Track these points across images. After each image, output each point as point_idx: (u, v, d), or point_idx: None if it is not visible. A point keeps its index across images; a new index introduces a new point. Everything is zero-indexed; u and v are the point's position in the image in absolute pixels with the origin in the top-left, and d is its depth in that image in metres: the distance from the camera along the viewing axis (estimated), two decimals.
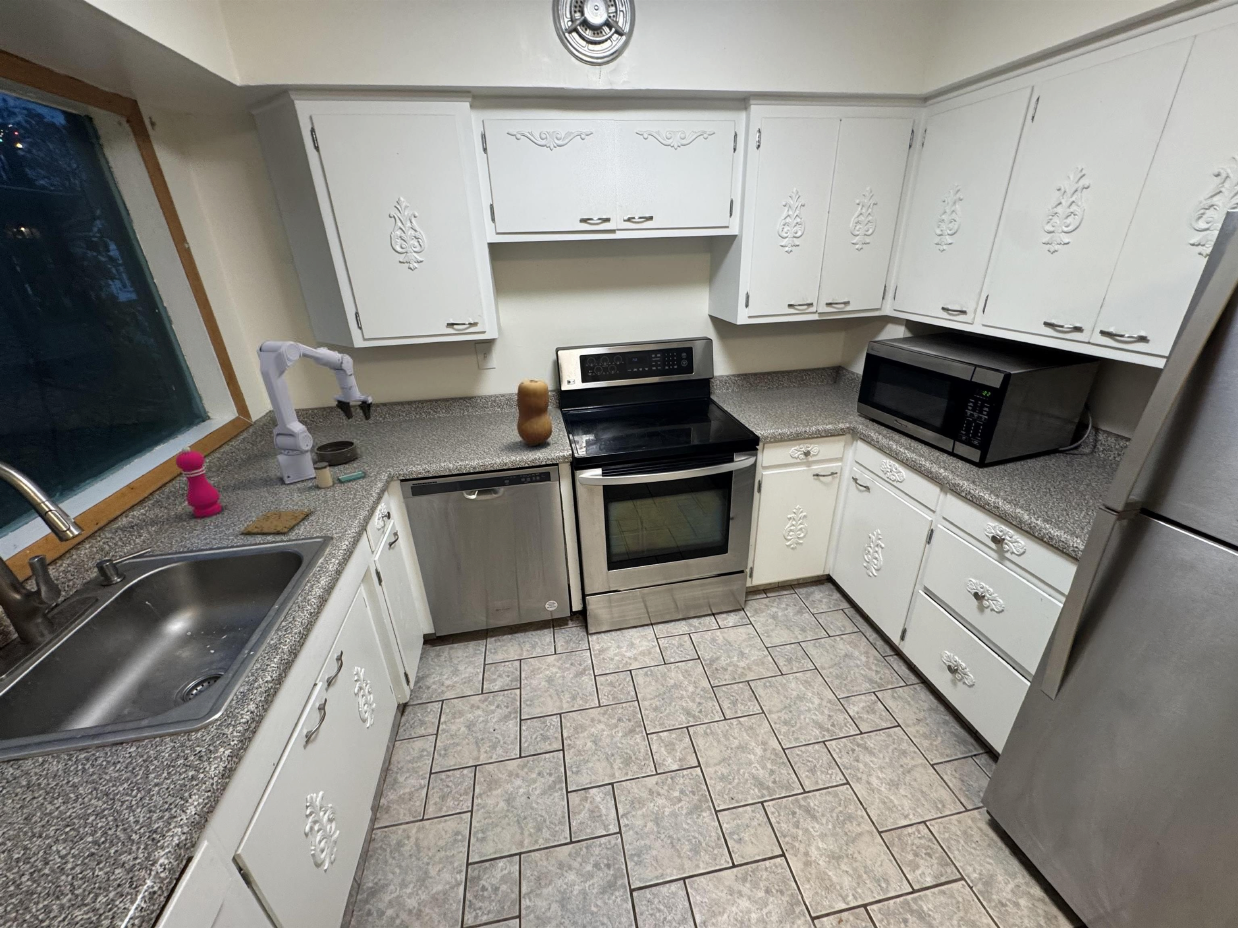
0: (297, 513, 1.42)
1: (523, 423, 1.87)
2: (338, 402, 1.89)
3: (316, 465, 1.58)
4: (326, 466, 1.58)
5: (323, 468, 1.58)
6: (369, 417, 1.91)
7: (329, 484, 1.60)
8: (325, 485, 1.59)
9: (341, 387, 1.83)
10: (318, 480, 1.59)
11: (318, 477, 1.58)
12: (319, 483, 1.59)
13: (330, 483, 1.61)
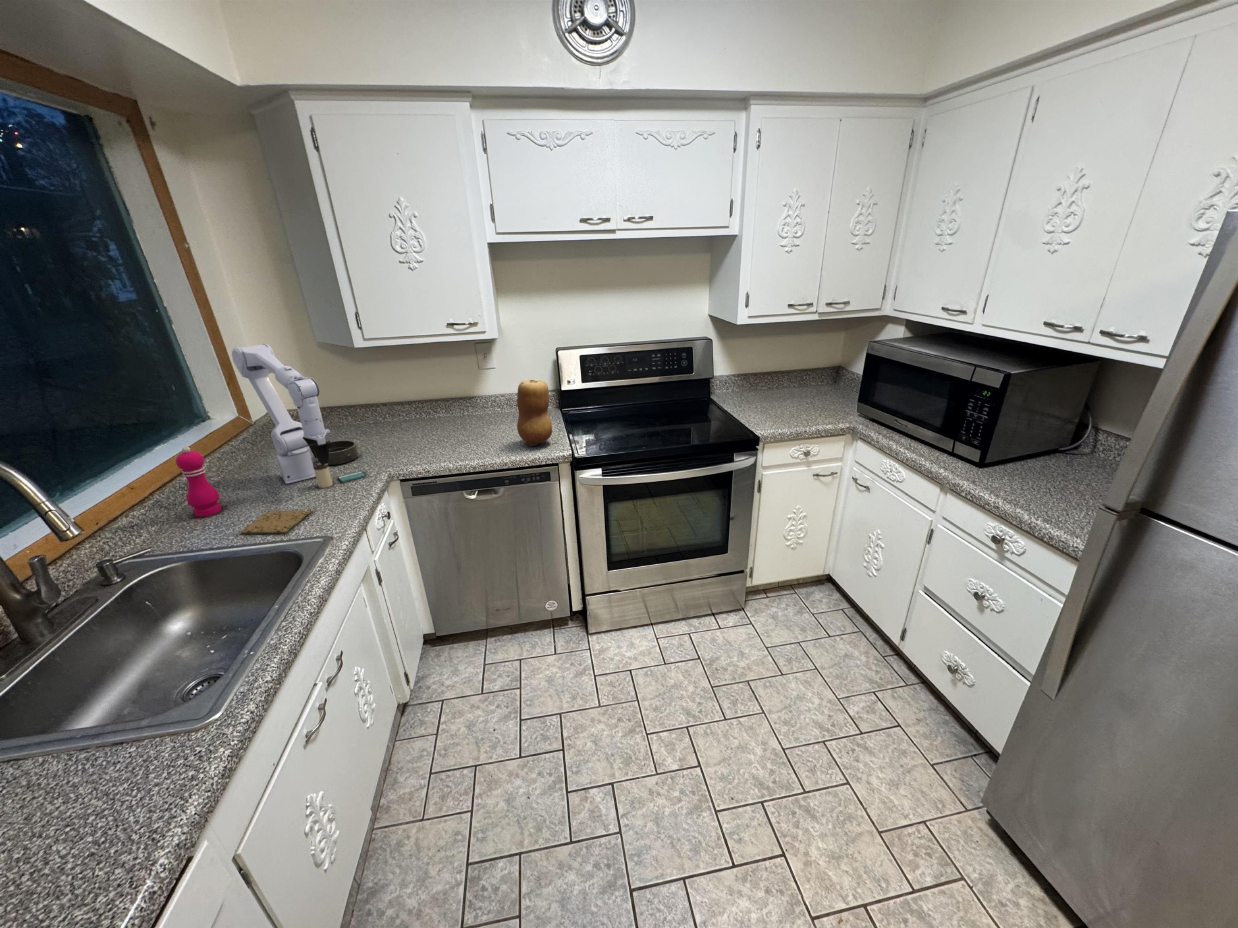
0: (297, 513, 1.42)
1: (523, 423, 1.87)
2: None
3: (316, 465, 1.58)
4: (326, 466, 1.58)
5: (323, 468, 1.58)
6: (325, 461, 1.55)
7: (329, 484, 1.60)
8: (325, 485, 1.59)
9: None
10: (318, 480, 1.59)
11: (318, 477, 1.58)
12: (319, 483, 1.59)
13: (330, 483, 1.61)
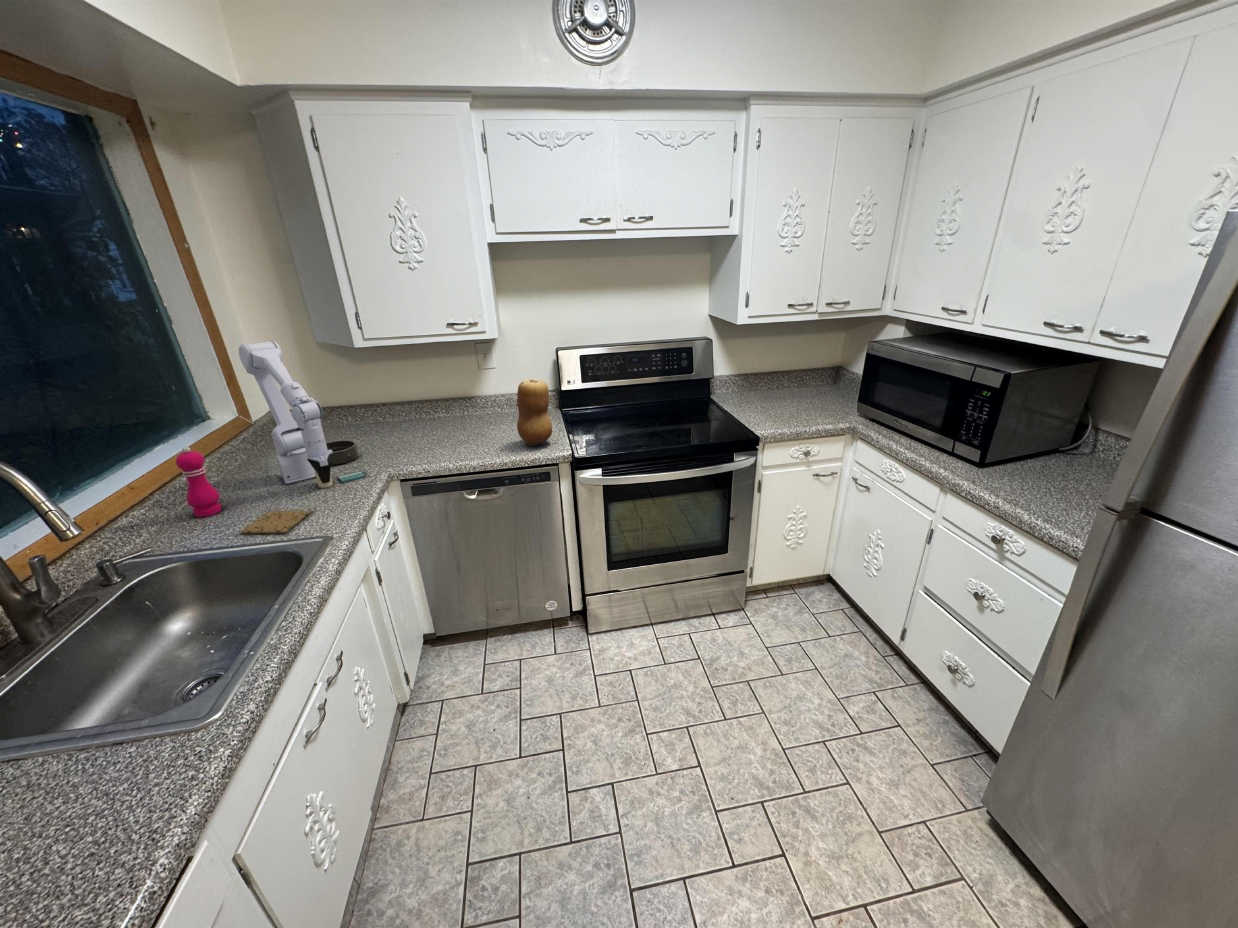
0: (297, 513, 1.42)
1: (523, 423, 1.87)
2: None
3: None
4: None
5: None
6: (327, 480, 1.59)
7: (329, 484, 1.60)
8: (325, 485, 1.59)
9: None
10: (318, 480, 1.59)
11: (318, 477, 1.58)
12: (319, 483, 1.59)
13: (330, 483, 1.61)
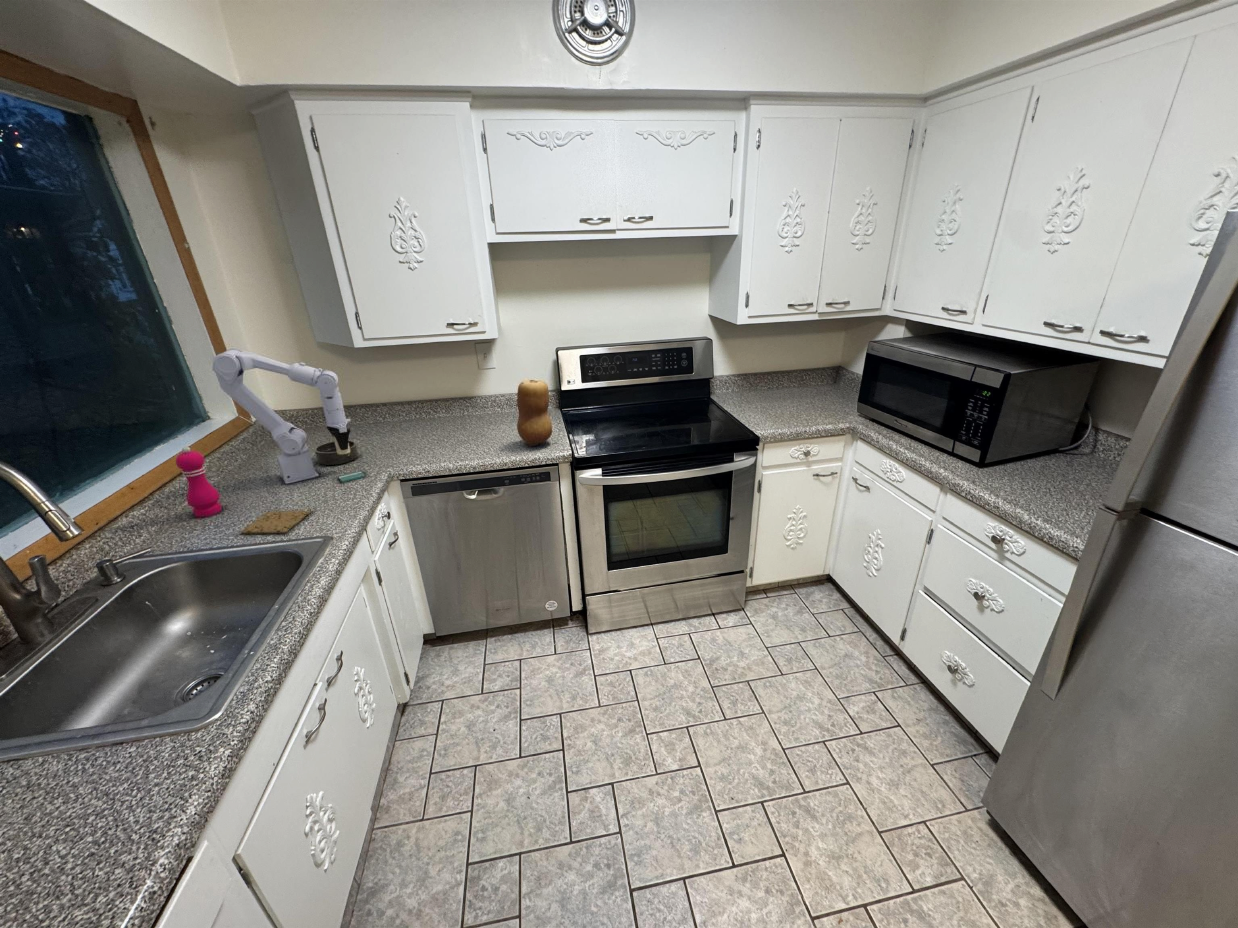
0: (297, 513, 1.42)
1: (523, 423, 1.87)
2: None
3: None
4: None
5: None
6: (345, 447, 1.67)
7: (347, 451, 1.69)
8: (343, 452, 1.68)
9: None
10: (337, 447, 1.67)
11: (337, 444, 1.67)
12: (338, 450, 1.68)
13: (348, 450, 1.69)
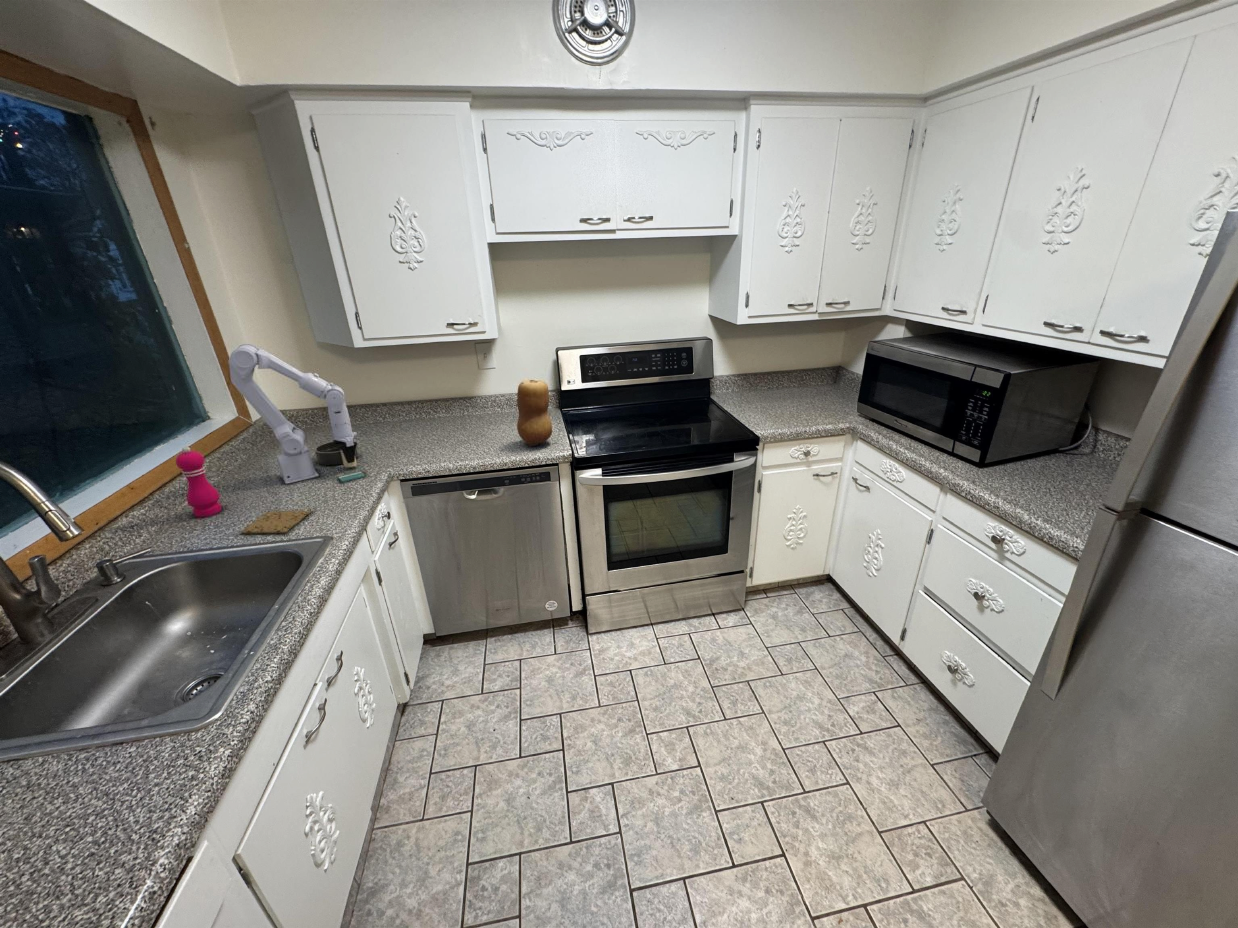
0: (297, 513, 1.42)
1: (523, 423, 1.87)
2: None
3: None
4: None
5: None
6: (351, 460, 1.71)
7: (354, 464, 1.73)
8: (350, 465, 1.72)
9: None
10: (344, 460, 1.71)
11: (344, 457, 1.70)
12: (345, 463, 1.71)
13: (355, 463, 1.73)
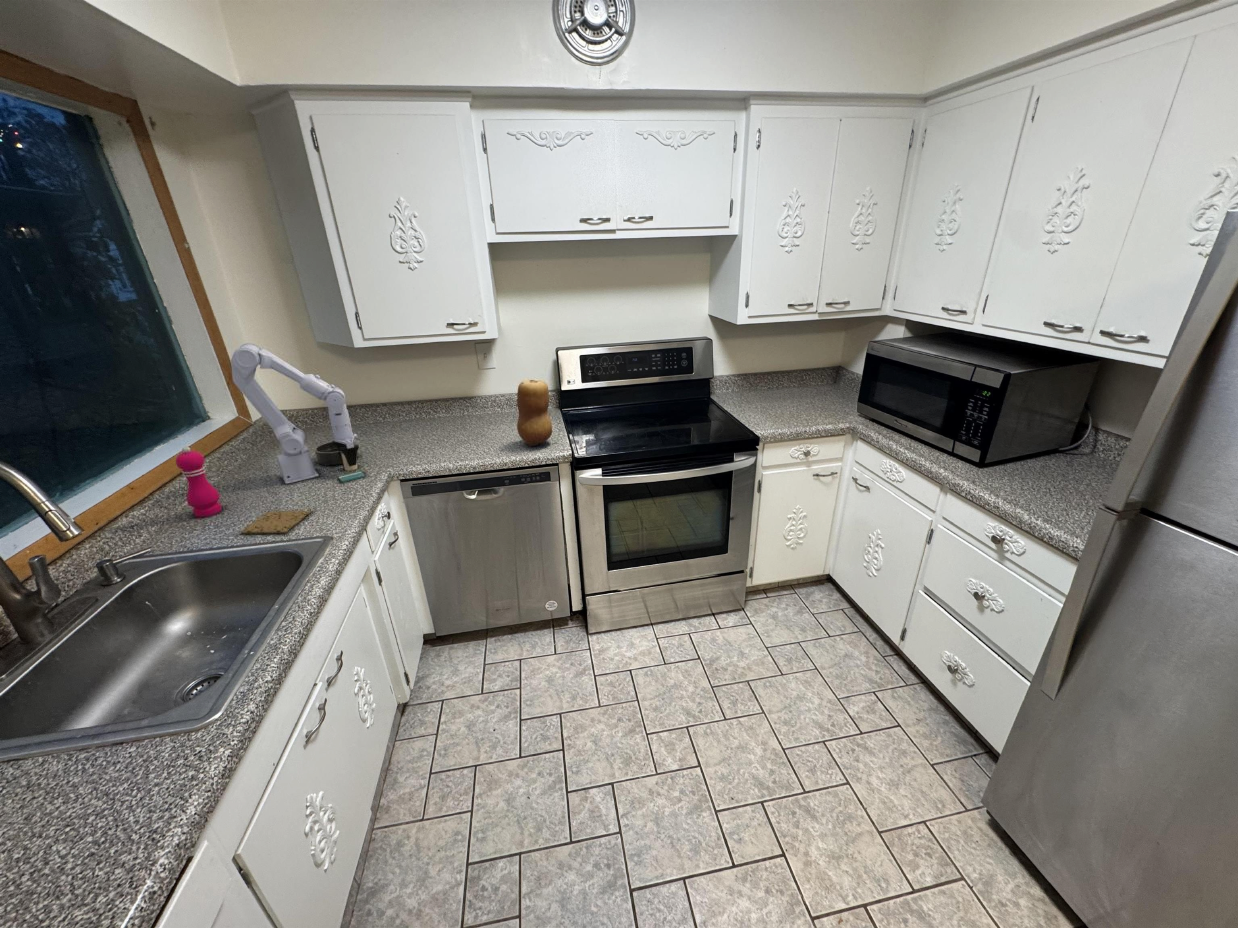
0: (297, 513, 1.42)
1: (523, 423, 1.87)
2: None
3: None
4: None
5: None
6: (353, 463, 1.70)
7: (355, 467, 1.73)
8: (351, 468, 1.72)
9: None
10: (345, 463, 1.71)
11: (345, 461, 1.71)
12: (345, 466, 1.72)
13: (355, 466, 1.73)
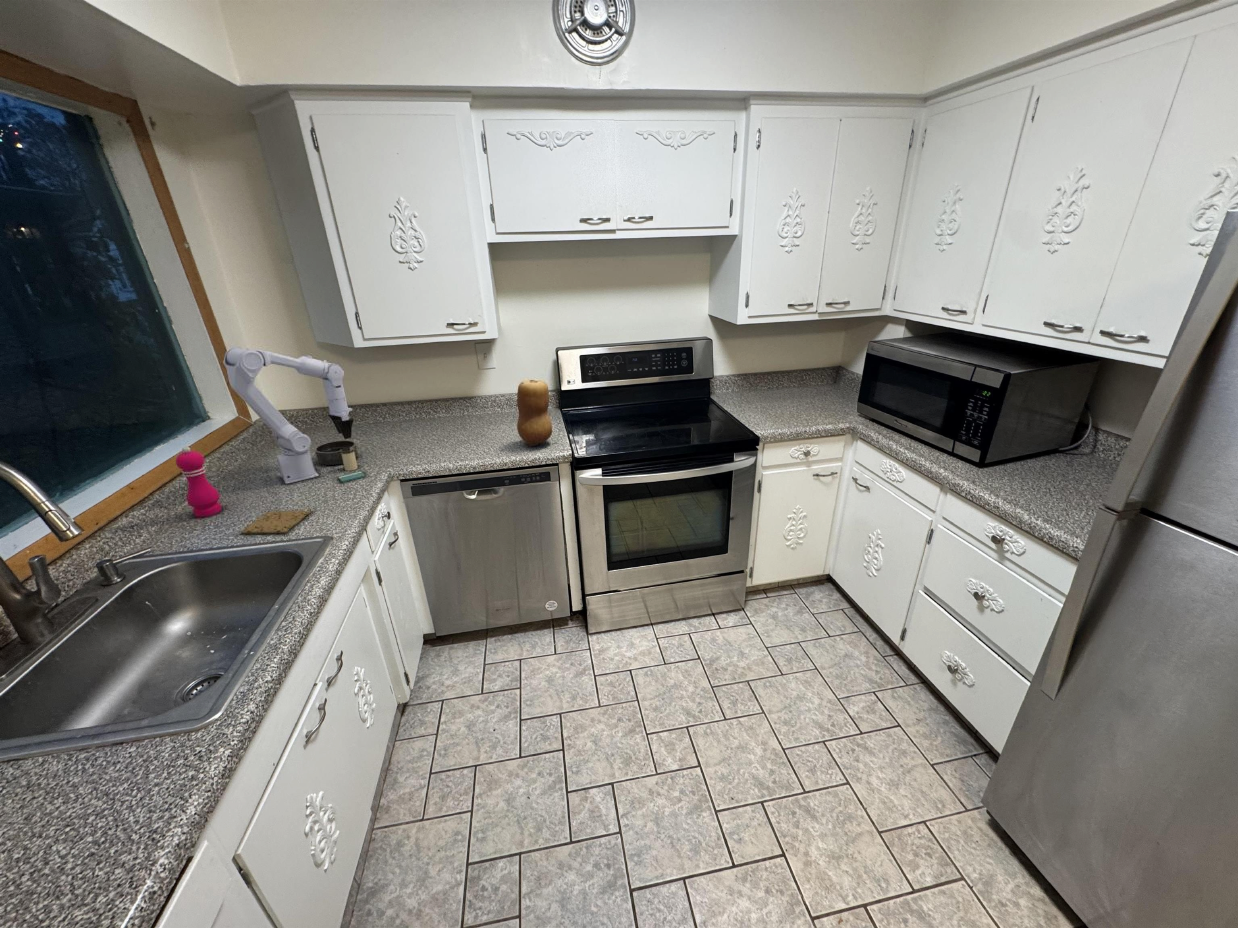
0: (297, 513, 1.42)
1: (523, 423, 1.87)
2: None
3: (343, 449, 1.71)
4: (352, 450, 1.71)
5: (349, 452, 1.70)
6: (348, 436, 1.74)
7: (355, 467, 1.73)
8: (351, 468, 1.72)
9: (327, 398, 1.70)
10: (345, 463, 1.71)
11: (345, 461, 1.71)
12: (345, 466, 1.72)
13: (355, 466, 1.73)
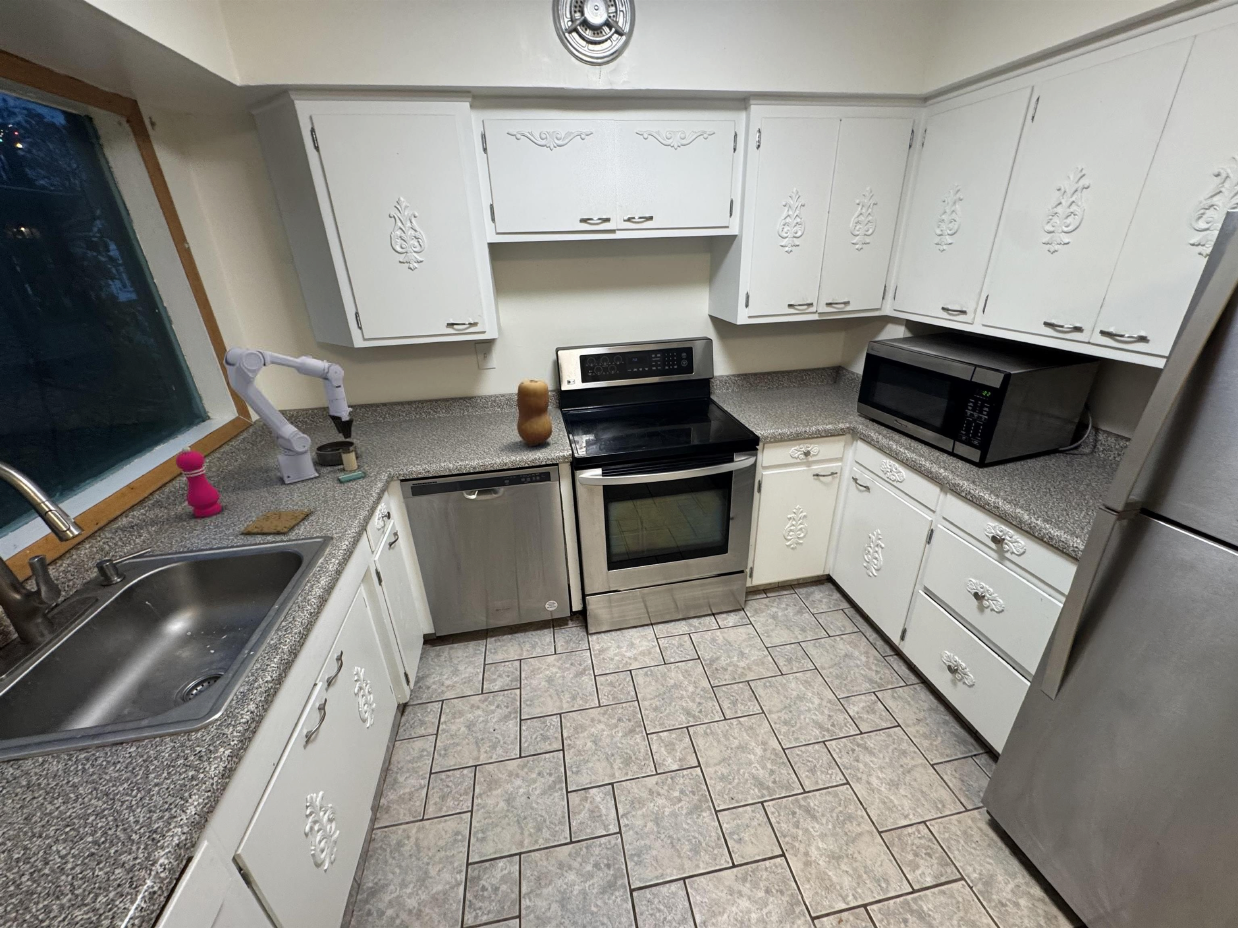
0: (297, 513, 1.42)
1: (523, 423, 1.87)
2: None
3: (343, 449, 1.71)
4: (352, 450, 1.71)
5: (349, 452, 1.70)
6: (348, 436, 1.74)
7: (355, 467, 1.73)
8: (351, 468, 1.72)
9: (327, 398, 1.70)
10: (345, 463, 1.71)
11: (345, 461, 1.71)
12: (345, 466, 1.72)
13: (355, 466, 1.73)
